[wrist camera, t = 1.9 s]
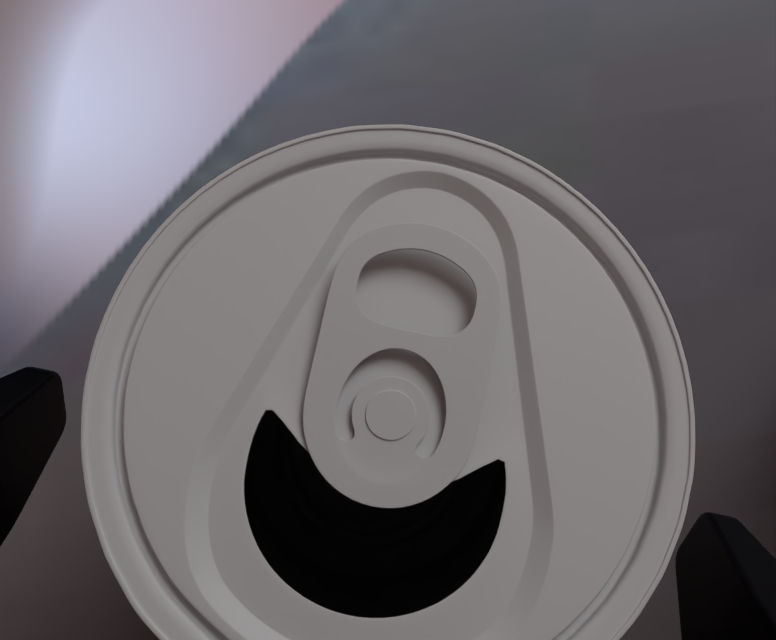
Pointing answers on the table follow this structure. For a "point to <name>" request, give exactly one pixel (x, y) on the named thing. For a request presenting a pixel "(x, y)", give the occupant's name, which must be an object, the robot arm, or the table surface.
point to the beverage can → (387, 403)
